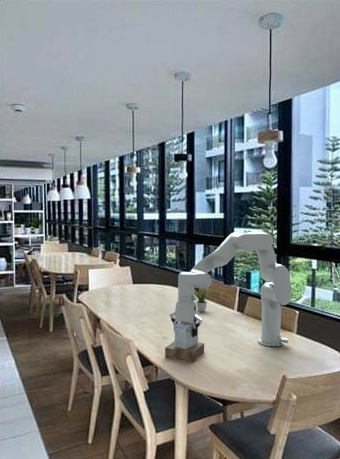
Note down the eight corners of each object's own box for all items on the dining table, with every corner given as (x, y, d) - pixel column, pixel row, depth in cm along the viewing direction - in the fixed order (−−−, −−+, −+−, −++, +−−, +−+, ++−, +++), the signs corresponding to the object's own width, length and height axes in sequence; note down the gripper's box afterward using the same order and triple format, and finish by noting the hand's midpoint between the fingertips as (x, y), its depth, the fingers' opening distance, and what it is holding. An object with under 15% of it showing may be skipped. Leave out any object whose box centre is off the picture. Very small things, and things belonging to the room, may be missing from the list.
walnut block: (204, 353, 185) (204, 343, 185) (192, 363, 173) (193, 352, 173) (177, 348, 192) (177, 338, 191) (165, 358, 179) (165, 347, 179)
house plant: (213, 308, 269) (214, 285, 268) (214, 313, 255) (214, 289, 255) (193, 307, 270) (193, 284, 270) (192, 313, 257) (192, 288, 256)
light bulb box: (187, 341, 188) (187, 319, 188) (198, 343, 184) (198, 321, 184) (174, 347, 180) (174, 324, 179) (185, 350, 176) (186, 326, 175)
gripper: (206, 299, 180) (205, 335, 180) (174, 294, 189) (173, 329, 189) (198, 302, 173) (198, 340, 174) (166, 297, 182) (165, 333, 183)
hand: (185, 334), depth 182 cm, fingers open, 9 cm apart
